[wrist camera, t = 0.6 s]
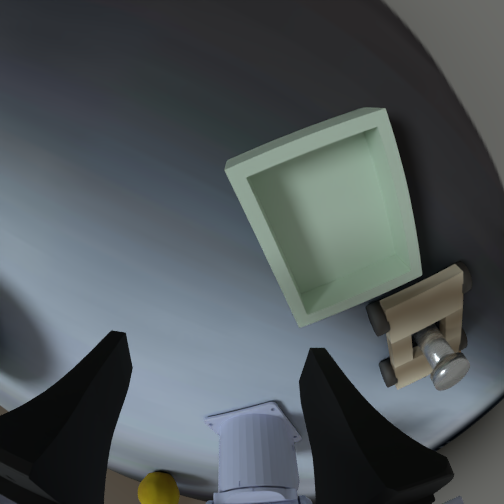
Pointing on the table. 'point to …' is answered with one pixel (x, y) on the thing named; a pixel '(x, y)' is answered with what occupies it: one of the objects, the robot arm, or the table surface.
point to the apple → (158, 489)
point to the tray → (331, 212)
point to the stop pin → (441, 358)
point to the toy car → (420, 322)
